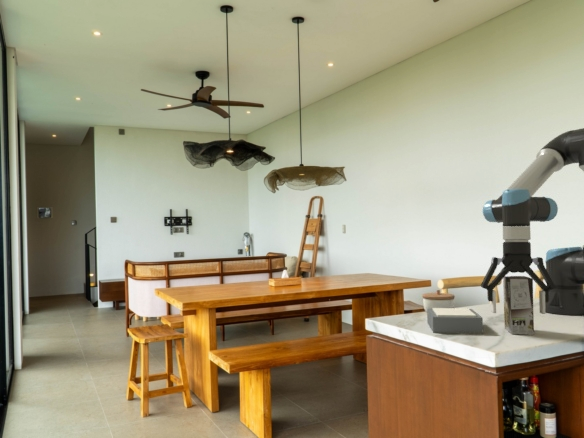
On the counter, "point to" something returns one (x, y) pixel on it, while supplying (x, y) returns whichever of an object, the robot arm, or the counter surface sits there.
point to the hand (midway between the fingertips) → (517, 313)
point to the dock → (454, 320)
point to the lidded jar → (438, 300)
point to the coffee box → (518, 304)
